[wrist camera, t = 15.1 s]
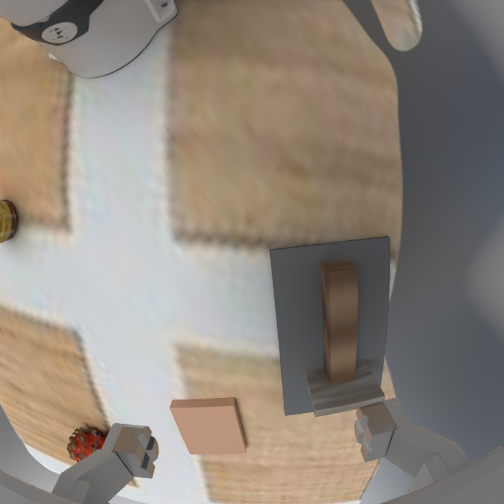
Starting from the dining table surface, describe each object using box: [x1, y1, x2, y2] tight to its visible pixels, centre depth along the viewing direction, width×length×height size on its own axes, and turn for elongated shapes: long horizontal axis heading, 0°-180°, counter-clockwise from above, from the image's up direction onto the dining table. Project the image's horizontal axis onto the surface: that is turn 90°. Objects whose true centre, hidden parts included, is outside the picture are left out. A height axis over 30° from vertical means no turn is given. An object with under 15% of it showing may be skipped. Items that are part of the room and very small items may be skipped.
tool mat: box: [270, 236, 390, 416], centre depth 35 cm, size 24×14×1 cm, turn 7°
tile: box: [170, 397, 246, 454], centre depth 38 cm, size 2×9×11 cm
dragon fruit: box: [67, 429, 106, 462], centre depth 37 cm, size 8×8×12 cm
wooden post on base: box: [305, 259, 385, 417], centre depth 30 cm, size 15×8×8 cm, turn 7°
